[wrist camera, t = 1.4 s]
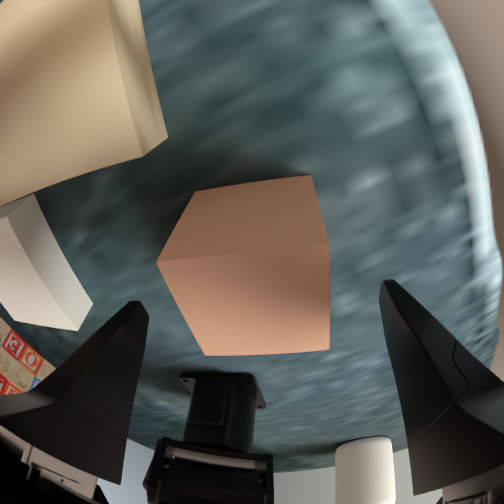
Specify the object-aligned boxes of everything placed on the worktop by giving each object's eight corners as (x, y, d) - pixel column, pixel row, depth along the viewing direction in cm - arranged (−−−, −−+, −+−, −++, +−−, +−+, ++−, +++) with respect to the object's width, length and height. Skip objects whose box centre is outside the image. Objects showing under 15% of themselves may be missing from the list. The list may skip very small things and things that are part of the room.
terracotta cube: (318, 266, 14) (329, 349, 10) (223, 275, 15) (205, 355, 11) (310, 174, 11) (328, 243, 7) (195, 190, 12) (155, 262, 8)
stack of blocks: (-27, 299, 23) (-67, 365, 13) (-20, 291, 21) (-67, 367, 11) (71, 392, 34) (49, 455, 24) (91, 395, 32) (68, 465, 22)
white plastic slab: (95, 299, 18) (78, 331, 16) (30, 297, 20) (14, 320, 17) (37, 190, 13) (6, 216, 10) (-18, 214, 14) (-40, 235, 12)
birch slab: (171, 135, 11) (142, 156, 9) (30, 182, 13) (-1, 207, 10) (135, -53, 5) (101, -72, 3) (-4, 42, 7) (-40, 50, 4)
